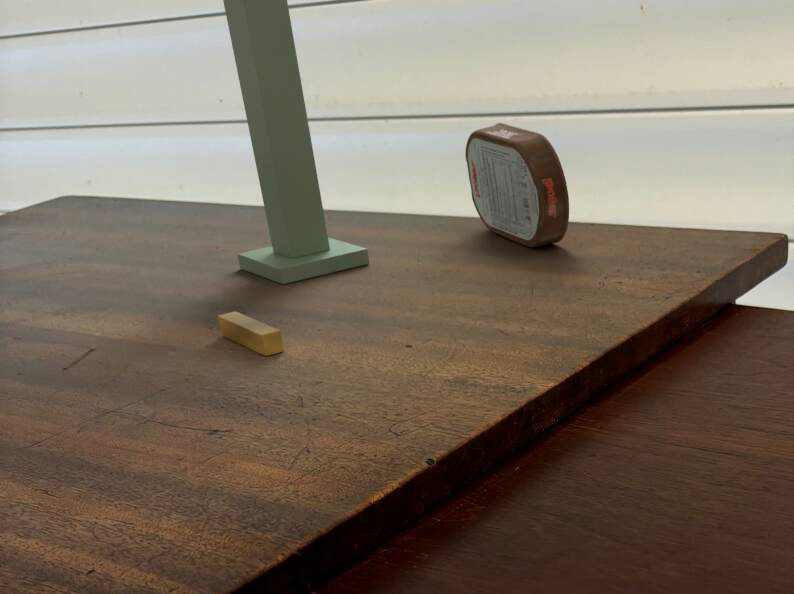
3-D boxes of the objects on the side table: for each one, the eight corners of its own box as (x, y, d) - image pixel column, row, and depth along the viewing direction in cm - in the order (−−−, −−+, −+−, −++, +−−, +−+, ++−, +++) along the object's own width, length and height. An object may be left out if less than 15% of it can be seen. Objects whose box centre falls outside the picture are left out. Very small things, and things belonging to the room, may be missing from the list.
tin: (575, 250, 95) (568, 135, 90) (540, 257, 94) (532, 141, 89) (498, 221, 106) (489, 117, 102) (467, 226, 105) (456, 122, 100)
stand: (222, 262, 100) (118, -201, 82) (305, 244, 104) (223, -203, 86) (302, 292, 90) (204, -228, 72) (391, 270, 94) (319, -229, 76)
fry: (222, 335, 82) (217, 315, 81) (240, 331, 83) (235, 310, 82) (265, 356, 77) (261, 335, 77) (284, 351, 78) (280, 330, 77)
